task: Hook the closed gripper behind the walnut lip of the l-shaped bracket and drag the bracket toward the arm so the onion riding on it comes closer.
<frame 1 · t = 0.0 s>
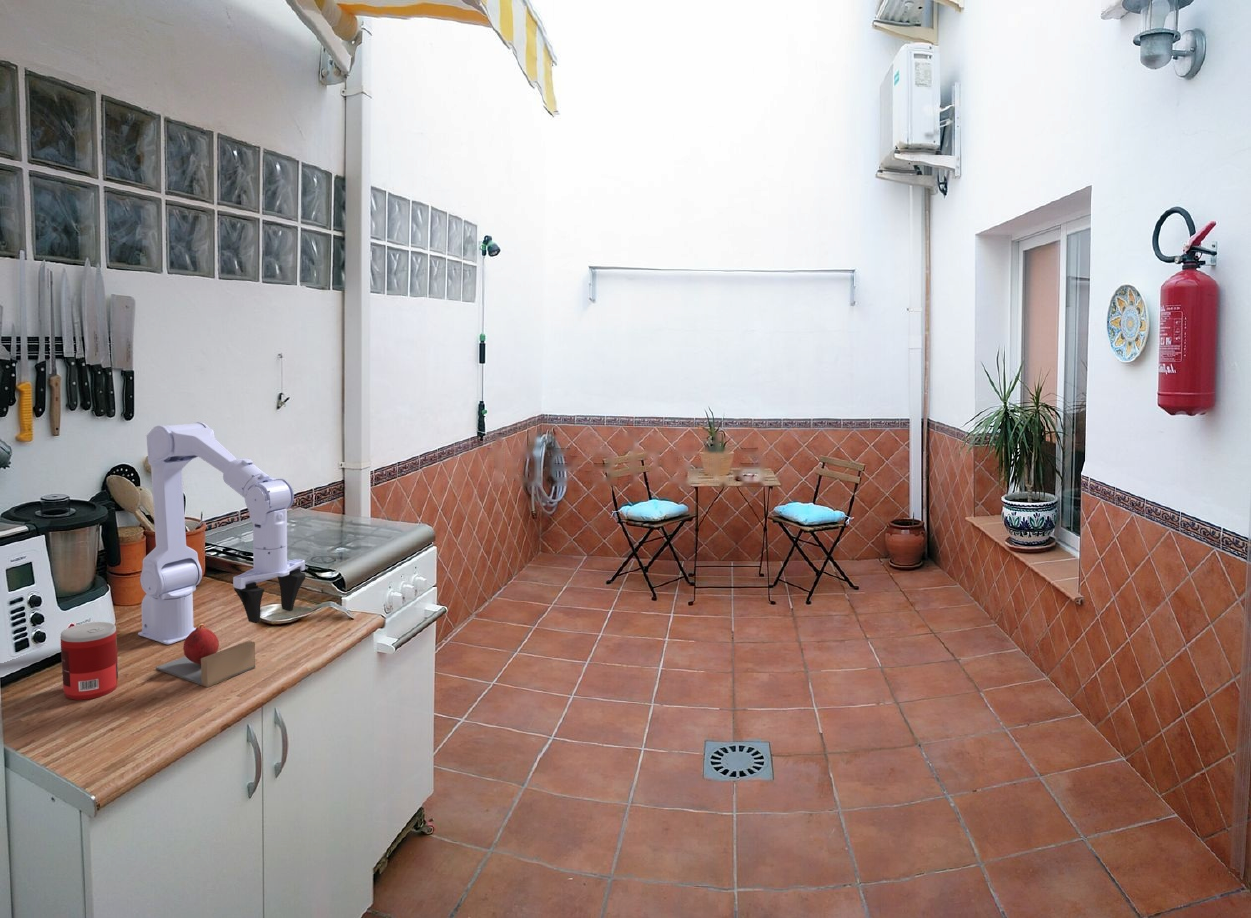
hand: (271, 615, 151), 10 cm above the counter, fingers open, 7 cm apart
onion: (201, 665, 151), resting on l-shaped bracket
canned food: (91, 691, 140), on the counter
l-shaped bracket: (205, 655, 150), point 3 cm above the counter, slide at 0.0 cm, touching onion
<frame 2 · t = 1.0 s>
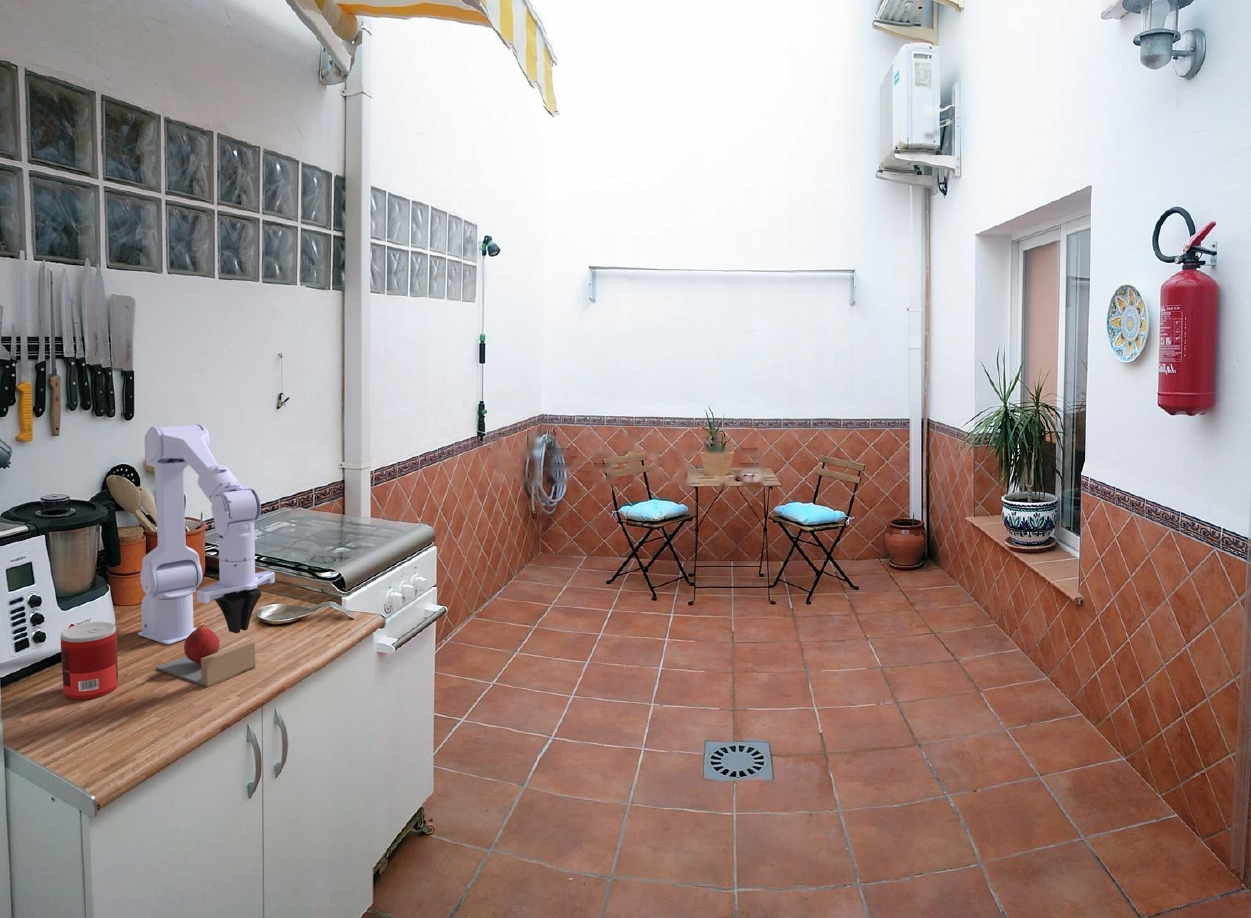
hand: (238, 630, 145), 9 cm above the counter, fingers closed
nothing on the counter moved.
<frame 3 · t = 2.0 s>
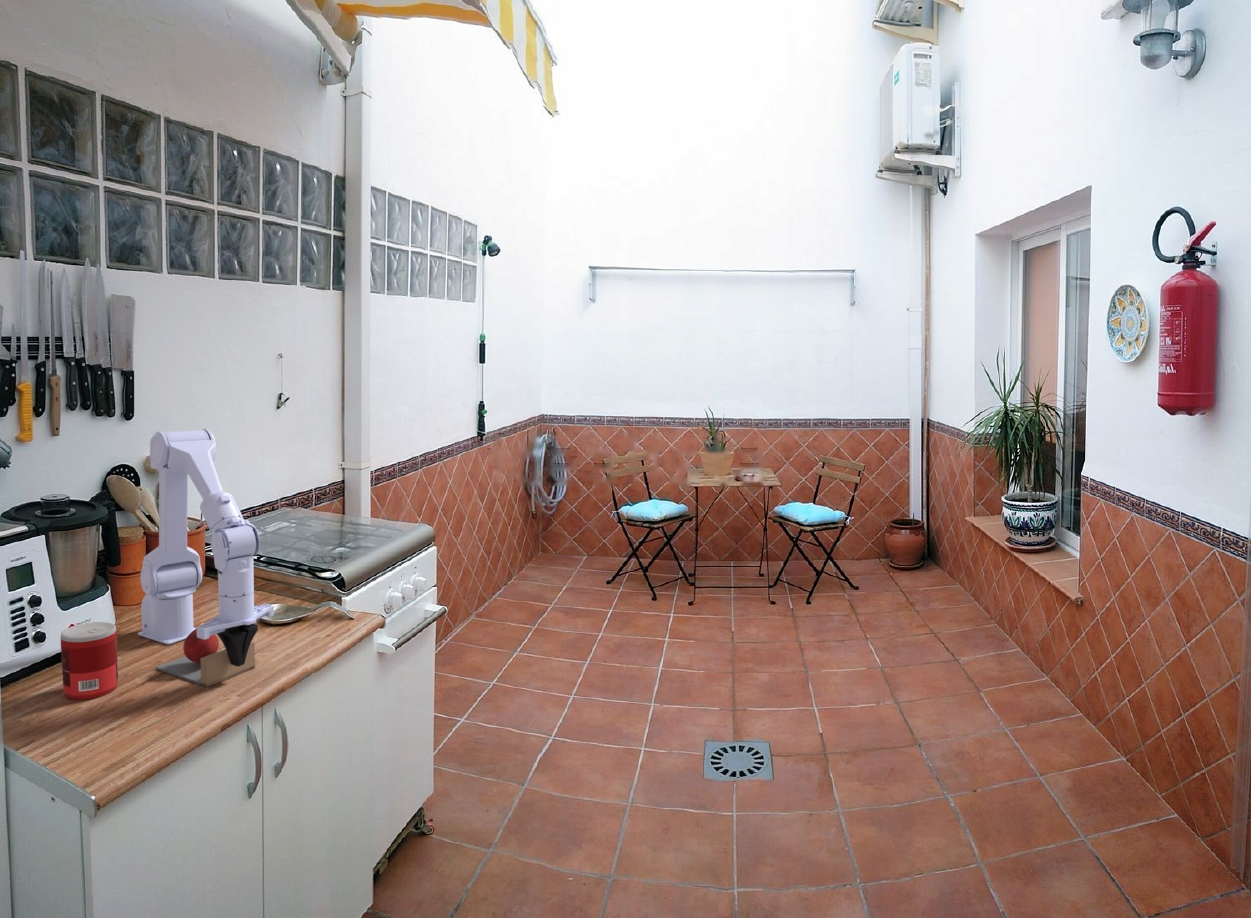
hand: (237, 664, 146), 3 cm above the counter, fingers closed, pressing on l-shaped bracket
l-shaped bracket: (205, 655, 150), point 3 cm above the counter, slide at 0.1 cm, touching gripper, onion
everything else where it was.
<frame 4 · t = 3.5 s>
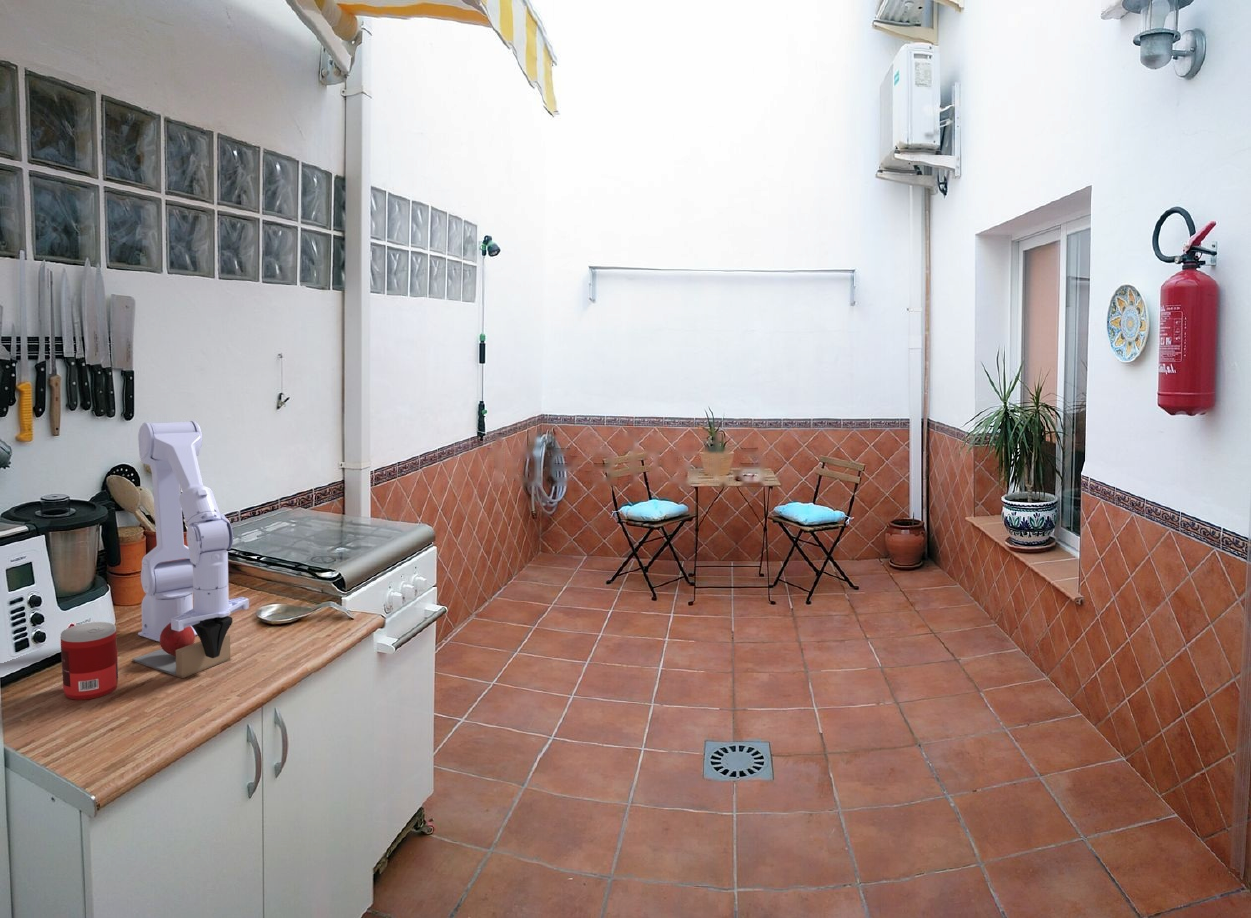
hand: (212, 656, 149), 3 cm above the counter, fingers closed, pressing on l-shaped bracket
onion: (177, 657, 154), resting on l-shaped bracket
l-shaped bracket: (181, 647, 153), point 3 cm above the counter, slide at 6.8 cm, touching gripper, onion
everything else where it was.
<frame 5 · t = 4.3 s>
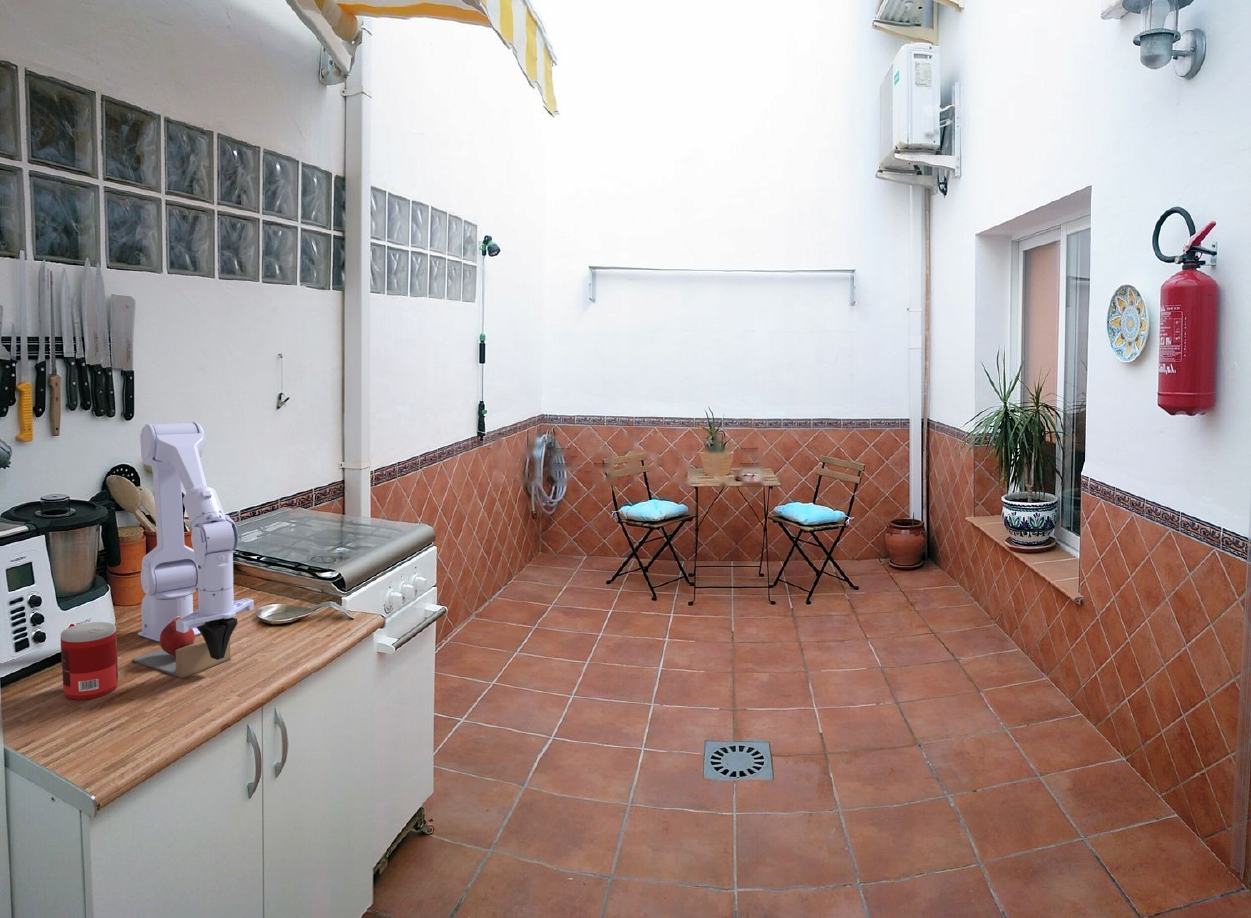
hand: (217, 657, 149), 3 cm above the counter, fingers closed
l-shaped bracket: (181, 647, 153), point 3 cm above the counter, slide at 6.8 cm, touching onion
everything else where it was.
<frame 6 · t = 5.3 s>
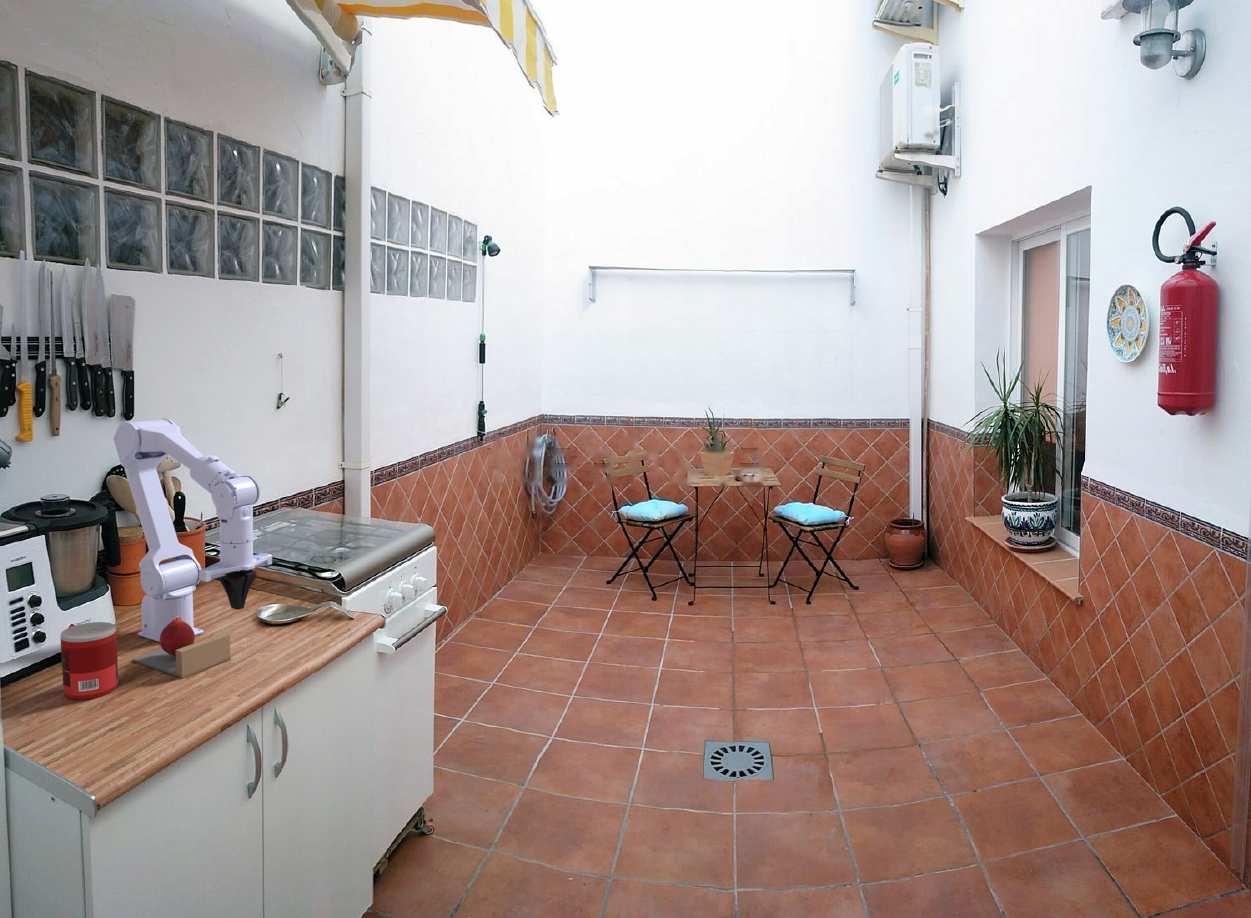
hand: (237, 607, 156), 9 cm above the counter, fingers closed
nothing on the counter moved.
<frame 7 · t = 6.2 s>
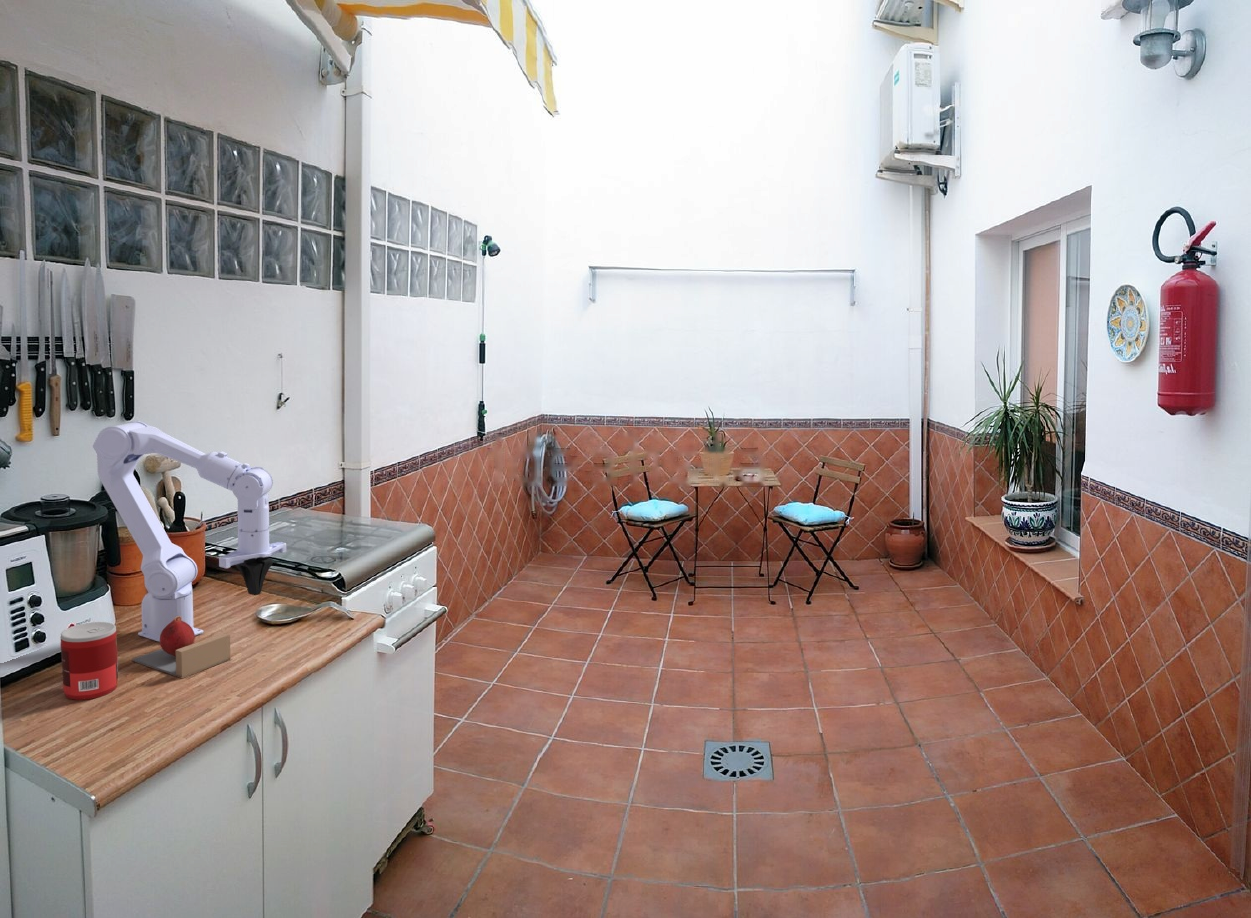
hand: (254, 593, 164), 9 cm above the counter, fingers closed
nothing on the counter moved.
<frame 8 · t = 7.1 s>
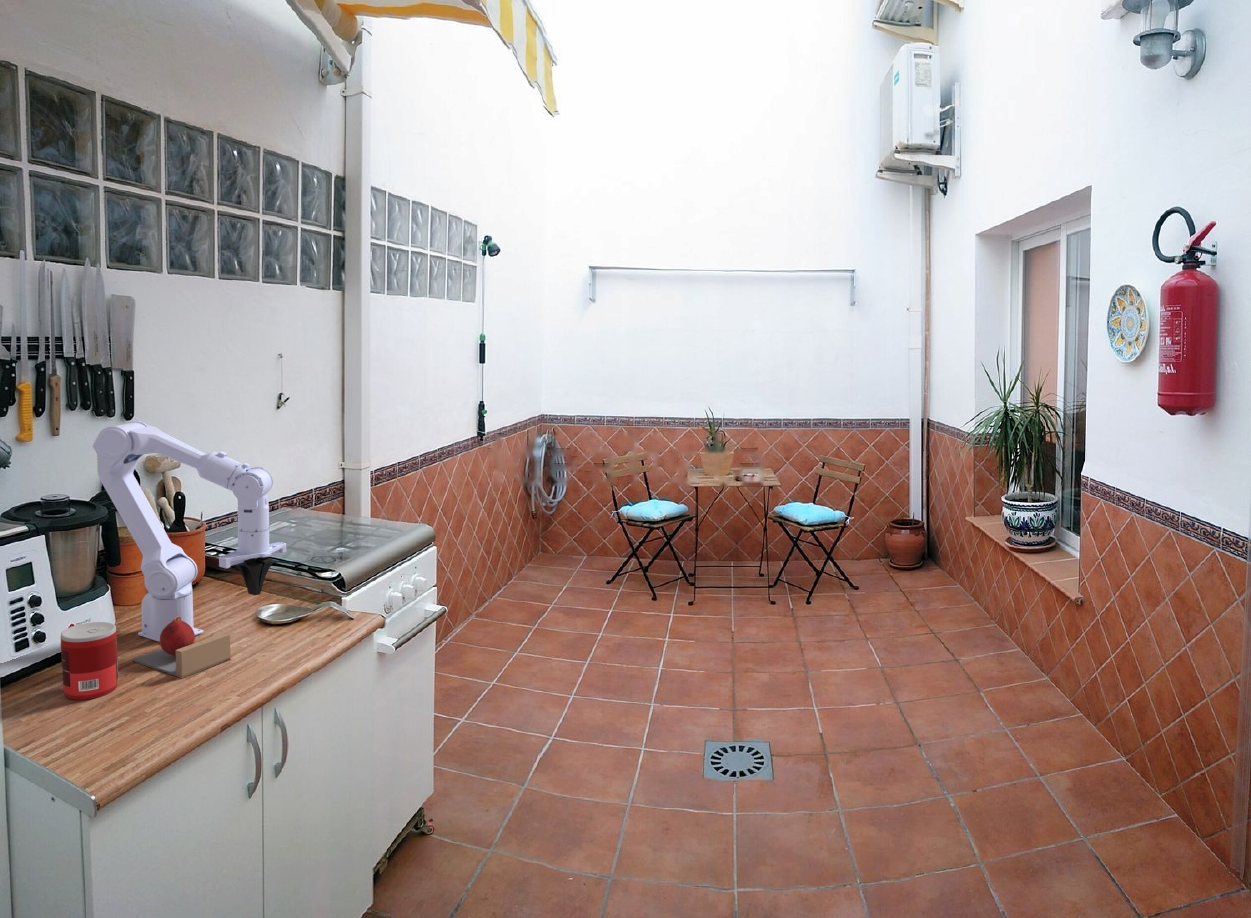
hand: (254, 593, 164), 9 cm above the counter, fingers closed
nothing on the counter moved.
at the end: l-shaped bracket slide at 6.8 cm; onion inside the target area (0.3 cm from its centre), resting on l-shaped bracket; onion touching l-shaped bracket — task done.
